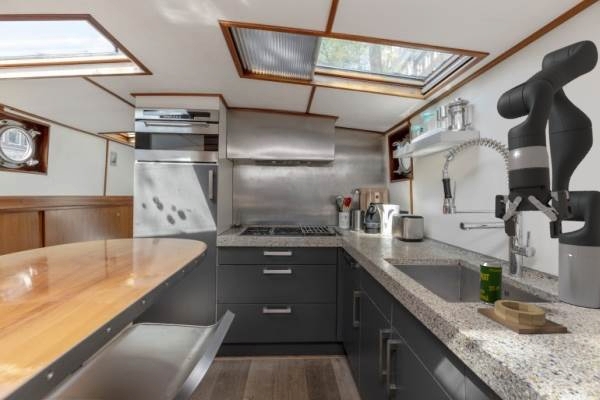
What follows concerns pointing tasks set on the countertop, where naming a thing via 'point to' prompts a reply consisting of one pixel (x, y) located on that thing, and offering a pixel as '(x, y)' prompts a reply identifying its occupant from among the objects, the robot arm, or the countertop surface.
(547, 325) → the socket board
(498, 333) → the countertop surface
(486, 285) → the beer can
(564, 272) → the robot arm
